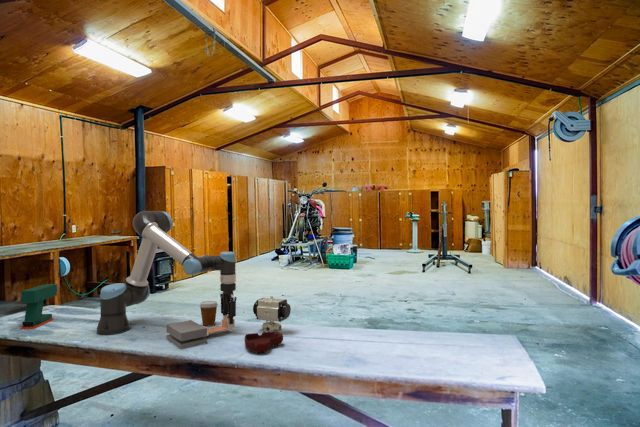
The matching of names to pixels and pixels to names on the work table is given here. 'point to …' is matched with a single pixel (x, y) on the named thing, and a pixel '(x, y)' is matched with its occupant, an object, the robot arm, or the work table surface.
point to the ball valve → (271, 312)
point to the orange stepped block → (220, 327)
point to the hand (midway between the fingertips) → (228, 329)
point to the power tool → (37, 305)
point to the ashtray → (262, 341)
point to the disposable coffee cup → (208, 312)
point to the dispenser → (186, 334)
